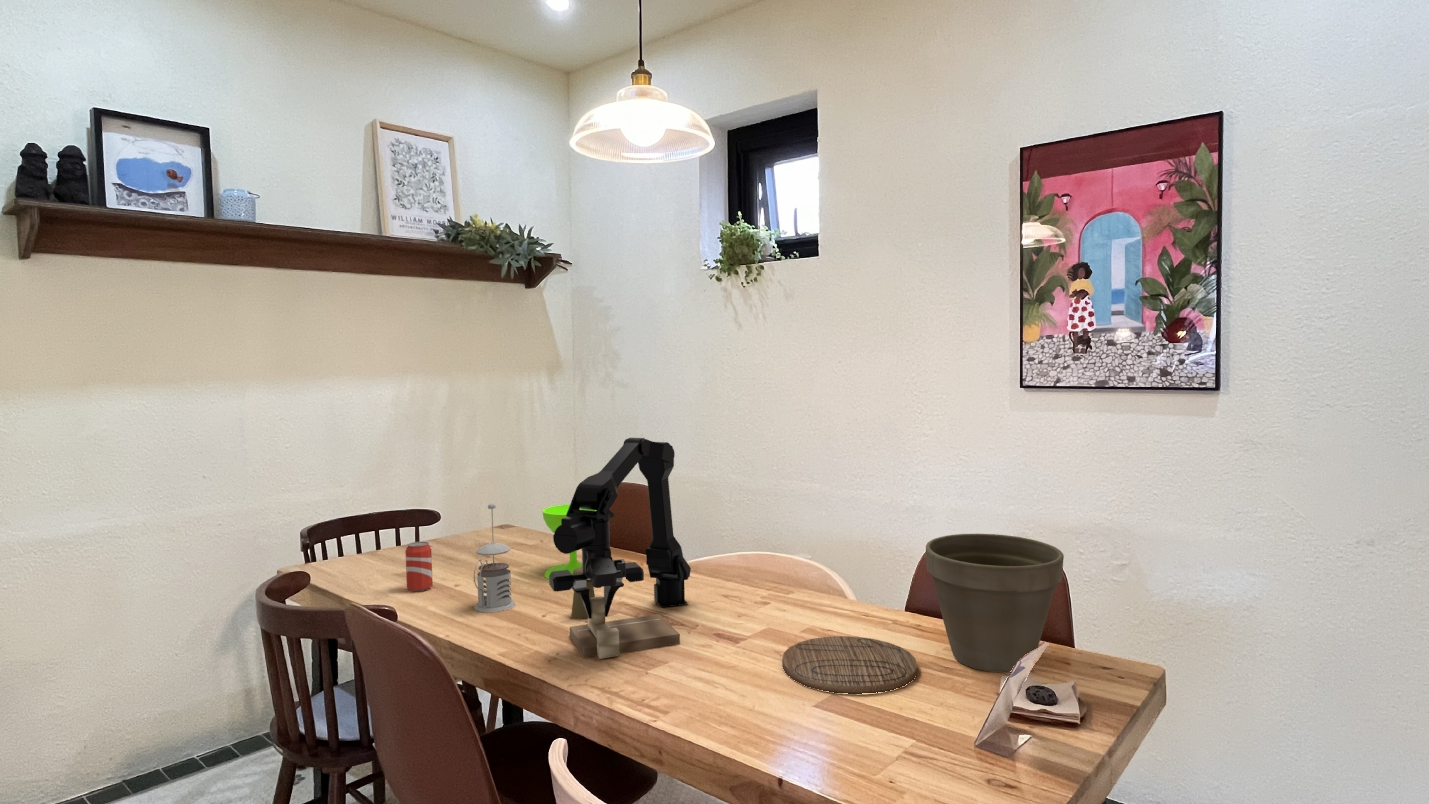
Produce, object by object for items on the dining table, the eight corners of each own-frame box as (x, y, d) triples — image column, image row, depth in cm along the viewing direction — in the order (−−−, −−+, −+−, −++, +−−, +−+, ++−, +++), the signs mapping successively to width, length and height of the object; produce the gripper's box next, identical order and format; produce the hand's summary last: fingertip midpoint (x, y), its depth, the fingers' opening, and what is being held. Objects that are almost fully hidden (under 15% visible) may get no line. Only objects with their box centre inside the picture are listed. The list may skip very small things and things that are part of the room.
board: (659, 622, 175) (659, 613, 175) (679, 643, 162) (679, 633, 162) (569, 635, 168) (569, 626, 168) (583, 658, 155) (583, 648, 155)
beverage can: (436, 585, 208) (434, 541, 208) (425, 592, 202) (423, 546, 201) (414, 585, 209) (412, 540, 208) (402, 592, 203) (400, 546, 202)
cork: (592, 619, 179) (591, 571, 178) (567, 618, 180) (565, 570, 179) (601, 611, 184) (600, 564, 184) (577, 609, 186) (575, 563, 185)
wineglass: (614, 570, 221) (612, 506, 220) (575, 584, 207) (573, 516, 206) (572, 563, 229) (570, 502, 228) (531, 576, 216) (529, 511, 215)
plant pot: (1068, 693, 135) (1068, 568, 134) (920, 676, 143) (919, 558, 142) (1058, 643, 158) (1059, 537, 157) (931, 631, 167) (931, 530, 166)
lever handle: (603, 634, 167) (602, 592, 167) (619, 655, 155) (618, 610, 155) (584, 637, 166) (583, 594, 166) (599, 658, 154) (598, 613, 153)
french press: (524, 601, 193) (520, 500, 192) (496, 616, 182) (492, 509, 181) (489, 598, 196) (486, 499, 195) (460, 612, 185) (456, 507, 184)
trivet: (779, 645, 161) (779, 636, 161) (902, 644, 160) (901, 635, 160) (786, 697, 136) (786, 686, 136) (931, 696, 135) (931, 686, 135)
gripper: (557, 556, 151) (560, 636, 152) (650, 546, 158) (652, 622, 159) (547, 544, 161) (549, 619, 162) (635, 535, 168) (637, 607, 169)
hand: (597, 617), depth 163 cm, fingers closed on lever handle, 3 cm apart
